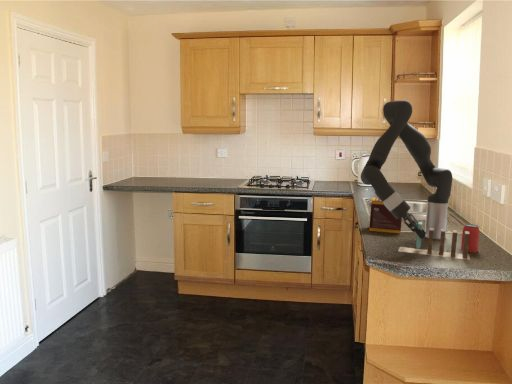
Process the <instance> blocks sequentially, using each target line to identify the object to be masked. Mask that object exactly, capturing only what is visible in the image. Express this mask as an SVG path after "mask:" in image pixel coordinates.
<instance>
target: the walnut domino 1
mask: <svg viewBox="0 0 512 384" xmlns="http://www.w3.org/2000/svg"><path fill="white" fill-rule="evenodd" d="M433 232H434V228H430V229H429V238H428V242H427V250H428V252H427V254H432V251H433V241H434V239H433Z"/></svg>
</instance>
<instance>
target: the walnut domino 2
mask: <svg viewBox="0 0 512 384" xmlns="http://www.w3.org/2000/svg"><path fill="white" fill-rule="evenodd" d="M445 240H446V238H445V229H441V237H440V239H439V250H438V251H439V255H442V256H443V252H445ZM442 256H441V257H442Z"/></svg>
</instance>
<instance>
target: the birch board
mask: <svg viewBox="0 0 512 384" xmlns="http://www.w3.org/2000/svg"><path fill="white" fill-rule="evenodd" d="M398 252H399V253H400V252H401V253H411V254H416V255H417V254H418V255H426V256H427V255H428V256H434V257H444V258H452V259H459V260H460V259H461V260H468V261H470V260H471V258H470V257H471V256H470V254H468V256H467V258H463V253H457V252H456V253H455V257H451V252H447V251H444V252H443V256H442V255H439V250H432V254H427V252H428V249H422V248H416V247H415V248H414V247H405V246H399V248H398Z"/></svg>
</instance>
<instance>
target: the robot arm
mask: <svg viewBox="0 0 512 384" xmlns="http://www.w3.org/2000/svg"><path fill="white" fill-rule="evenodd" d="M382 112H383V116H384V118H385V120H386V121H387V123H388V124H389V125H390V126H389V127H388V128H387V130H386V131H385V132H384V133H383V134H381V136H380V137H379V138H378V139H377V141H376V142H375V143H374V146H373V147H372V150H371V152H370V153H369V157H368V158H367V159H368V160H367V161H366V163H365V165H364V167H363V169H362V170H361V172H360V180H361V183H363V184H364V185H367V186H368V185H370V186H371V187H372V189H374V193H375V196H376V197H377V198H379V199H380V200H381V201H382V202H383V203H384V205H385V206H386V208H387V209H388V210H389V211H390V212H391V213H392V214H393V216H394V217H395V218H396V219H398V218H400V217H402V219H403V220H402V222H403V223H404V224H405V225H406V226H407V227H408V228H409V229H410V230H411V231H412V233H415V234H416V236H417V235H418V236H419V237H420V238H421V240H423V239H425V238H427V239H429V229H430V228H434V232H433V240H440V237H441V229H445V239H446V238H447V229H448V216H447V215H448V207H449V199H450V197H451V191H452V185H453V173H452V172H451V170H450V169H447V168H441V167H436V166H435V165H434V163H433V161H432V160H431V155H432V147H431V145H430V143H429V141H428V140H427V138H426V136H425V135H424V134H423V133H422V132H421V131H419V130H418V129H417V128H416V127H414V126H413V125H411V124H410V123H409V121H410V119H411V117H412V115H413V105H412V103H411V102H410V101H408V100H406V99H401V100H390V101H387V102H385V103H384V106H383V108H382ZM398 138H400V140H401V142H402V143H403V144H404V146H405V147H406V150H407V151H408V152H409V155H410V156H411V157H412V158H413V160H414V162H415V163H416V165H417V166H418V168H419V170H420V172H421V174H422V176H423V179H424V181H425V182H426V184H427V185H428V186H430V187H431V188H435V189H436V191H435V192H434V193H431V194H428V196H427V202H426V214H425V223H424V225H425V226H424V228H422V231H421V230H420V228H419V227H418V223H419V222H420V221H418V219H416V218H415V216H414V215H413V213H410V212H409V211H410V210H411V206H410V205H409V204H408V203H407V201H406V200H405V199H404V198H403V197H402V195H400V193H398V192H397V191H396V190H395V189H394V188H393V187H392V185H390V184H389V183H388V180H387V179H386V177H385V175H384V174H383V172H382V171H381V170H382V167H383V165H384V164H385V163H386V161H387V159H388V157H389V154H390V153H391V150H392V148H393V146H394V143H396V140H397V139H398Z"/></svg>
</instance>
